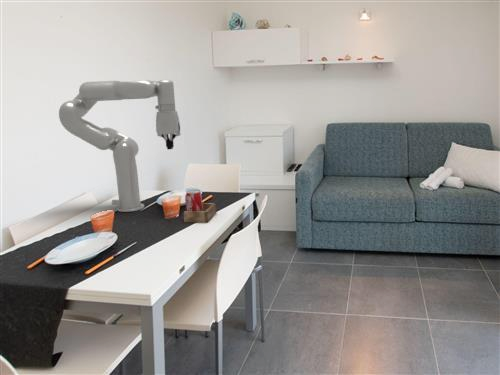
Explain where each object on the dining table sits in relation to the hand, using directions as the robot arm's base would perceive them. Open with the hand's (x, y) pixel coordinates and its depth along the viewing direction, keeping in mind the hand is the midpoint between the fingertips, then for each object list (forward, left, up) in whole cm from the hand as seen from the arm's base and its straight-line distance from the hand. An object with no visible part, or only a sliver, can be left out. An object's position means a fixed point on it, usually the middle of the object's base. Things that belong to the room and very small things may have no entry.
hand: (170, 148), depth 230 cm
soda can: (+16, -19, -27) cm, 37 cm away
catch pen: (+18, -17, -27) cm, 37 cm away
